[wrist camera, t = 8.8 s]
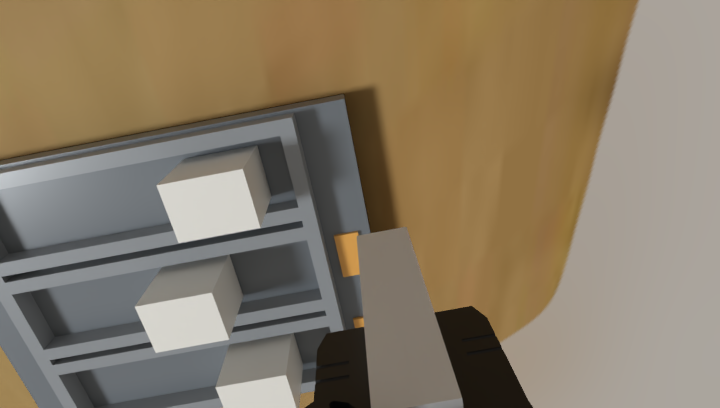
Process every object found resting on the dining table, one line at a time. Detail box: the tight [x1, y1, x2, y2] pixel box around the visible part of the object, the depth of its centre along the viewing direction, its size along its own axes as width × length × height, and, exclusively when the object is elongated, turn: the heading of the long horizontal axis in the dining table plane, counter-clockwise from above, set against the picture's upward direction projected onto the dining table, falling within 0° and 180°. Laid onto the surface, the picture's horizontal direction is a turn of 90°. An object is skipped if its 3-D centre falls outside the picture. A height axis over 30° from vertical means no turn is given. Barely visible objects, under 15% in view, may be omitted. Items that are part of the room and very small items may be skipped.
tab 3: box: [215, 333, 303, 408], centre depth 28 cm, size 3×4×4 cm
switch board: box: [0, 94, 371, 408], centre depth 27 cm, size 18×24×3 cm
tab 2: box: [135, 255, 243, 353], centre depth 25 cm, size 3×4×4 cm
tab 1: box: [156, 145, 272, 243], centre depth 23 cm, size 3×4×4 cm
